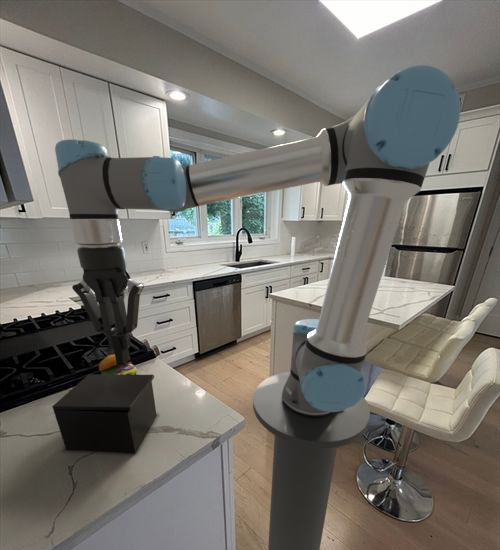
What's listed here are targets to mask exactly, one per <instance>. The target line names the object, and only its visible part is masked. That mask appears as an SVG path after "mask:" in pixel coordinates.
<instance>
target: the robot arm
mask: <svg viewBox="0 0 500 550" xmlns="http://www.w3.org/2000/svg"><path fill="white" fill-rule="evenodd" d="M460 118H461V100H460V95H459V91H458V90H457V89H456V88H455V85H454V83H453V80H452V79H451V77H450V75H448V74H447V73H446V72H445V71H443V70H442V69H440V68H437V67H435V66H432V65H427V64H419V65H412V66H409V67H406V68H404V69H402V70H399V71H397V72H396V73H394V74H393V75H392V76H390V78H388V79H386V80H385V81H384V82H382V83H381V84H380V85H379V86H378V87H377V88H376V89H375V90H374V91H373V93H372V94H371V96H370V97H369V100H367V101H366V102H365V104H363V106H362V107H361V108H360V109H359V110H358V111H357V113H355V114H354V115H353V116H351V117H350V118H349V119H347V120H344V121H343V122H342V123H341V122H340V123H339V124H336V125H334V126H331V127H330V126H329V127H325V128H322V129H321V130H320V132H319V133H318V134H317V136H315V137H309V138H305V139H301V140H297V141H293V142H288V143H287V142H286V143H283V144H279V145H275V146H270V147H265V148H261V149H255V150H252V151H247V152H243V153H238V154H233V155H229V156H224V157H220V158H215V159H211V160H206V161H203V162H198V163H193V164H190V165H185V166H182V164H181V163H180V161H179V160H178V159H176V158H174V157H163V156H159V155H153V156H145V157H139V156H138V157H137V156H136V157H110V156H109V152H108V150H107V148H106V147H105V146H104V145H102V144H101V143H98V142H96V141H91V140H84V139H83V140H81V139H80V140H79V139H62V140H59V141H58V142H56V144H55V147H54V153H55V157H56V164H57V168H58V170H57V173H58V177H59V179H60V182H61V187H62V189H63V194H64V197H65V202H66V205H67V210H68V213H69V215H68V217H69V221H70V226H71V230H72V234H73V240H74V244H76V245H78V246H79V247H77V249H76V252H77V256H78V260H79V261H78V262H79V265H80V268H81V269H82V270H83V273H82V280H81V281H80V282H77V283H76V284H73V285H72V287H71V288H72V290H73V291H74V293H75V294H76V295H77V296H78V297H79V298H80V301H81V303H82V305H83V307H84V309H85V311H86V313H87V315H88V317H89V320H90V322H91V324H92V326H93V327H94V330H95V331H96V332H97V333H103V334H105V335H106V337H107V341H108V347H109V348H110V350H113V354H115V358H116V363H117V365H124V364H125V363H126V362H129V360H130V359H131V357H130V354H129V348H130V347H131V345H132V343H131V338H130V337H131V336H130V333H132V332H133V331H135V330H136V329H137V328H138V323H139V322H138V321H139V311H140V300H141V299H140V298H141V294H142V292H143V290H144V286H145V285H144V283H142V282H139V283H138V282H136V281H135V280H133V279H131V275H130V274H129V272H128V270H127V259H126V254H125V249H124V247H123V246H122V245H121V243H123V236H122V232H121V225H120V220H119V219H120V218H119V212H118V210H154V211H167V212H171V213H180V212H181V213H182V212H184V211H186V210H187V209H192V208H197V207H201V206H205V205H210V204H215V203H220V202H225V201H231V200H235V199H241V198H245V197H249V196H256V195H260V194H264V193H265V194H266V193H270V192H275V191H281V190H284V189H285V190H286V189H290V188H296V187H300V186H304V185H310V184H314V183H320V184H321V185H322V186H323V187H328V186H333V185H340V184H342V185H343V187H344V188H345V190H346V192H347V194H348V199H347V202H346V203H347V204H346V208H345V211H344V216H343V220H342V225H341V229H340V232H339V237H338V241H337V245H336V249H335V253H334V257H333V261H332V266H331V269H330V274H329V277H328V278H329V279H328V282H327V286H326V289H325V293H324V298H323V301H322V306H321V311H320V314H319V318H306V319H300V320H298V321H296V322H295V323H294V325H293V330H292V344H291V345H292V346H291V357H290V358H291V359H290V370H289V372H290V375H289V377H288V379H287V381H286V383H285V386H284V388H283V391H282V401H283V404H284V405H285V406H286V407H287V408H288V409H289V410H290V411H292V412H293V413H295V414H298V415H300V416H304V417H308V418H323V417H327V416H330V415H332V414H333V413H335V412H338V411H343V410H345V409H346V408H349V407H352V406H354V405H355V404H357V403H358V402H359V401H360V400H361V398H362V397H364V394H365V392H366V381H365V379H366V378H365V376H364V375H363V373H362V368H363V365H364V362H365V359H366V356H367V353H368V347H367V345H366V344H365V342H364V341H363V338H364V337H363V336H364V333H365V330H366V328H367V324H368V321H369V318H370V314H371V311H372V308H373V305H374V302H375V299H376V295H377V293H378V289H379V286H380V284H381V280H382V278H383V274H384V271H385V267H386V264H387V261H388V258H389V255H390V252H391V249H392V245H393V242H394V239H395V235H396V232H397V229H398V227H399V225H400V220H401V217H402V214H403V210H404V207H405V205H406V203H407V201H408V200H410V199H411V198H412V197H414V196H415V195H417V194H418V193H420V192H421V190H422V188H423V184H424V181H425V178H426V175H427V171H428V169H429V166H430V164H431V163H432V162H433V161H434V160H436V159H437V158H438V157H440V155H441V154H442V153H443V152H445V150H446V149H447V148H448V146H449V145H450V144H451V142H452V140H453V138H454V137H455V135H456V132H457V129H458V127H459V124H460V123H459V122H460ZM126 289H127V292H128V296H127V305H126V304H125V297H126V296H125V291H126ZM126 306H127V307H126ZM129 357H130V358H129Z"/></svg>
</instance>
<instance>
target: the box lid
mask: <svg viewBox="0 0 500 550" xmlns="http://www.w3.org/2000/svg"><path fill="white" fill-rule="evenodd" d="M154 378H155V375H154V374H136V375H107V374H101V373H100V374H95V373H94V374H93V373H92V374H88V375H86V376H85V377H84V378H83V379H81V380H80V381H79V382H78V383H77V384H76V385H75V386H74V387H73V388H71V389H70V390H69V391H68V392H67V393H65V394H64V396H63V397H61V398H60V399H59V400H58V401H56V402H55V403H54V404H52V407H51V408H52V410H54V409H60V410H131V409H132V408H133V407H134V405H135V404H136V402H137V401H138V400H139V398H140V397H141V395H142V394H143V393H144V391H145V390H146V388H147V387H148V386H149V384H150V383H151V381H152V382H153V380H154Z"/></svg>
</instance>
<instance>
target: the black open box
mask: <svg viewBox="0 0 500 550" xmlns="http://www.w3.org/2000/svg"><path fill="white" fill-rule="evenodd" d="M153 387H154V386H153V380H152V381H151V383H150V384H149V386H148V387H147V388H146V390H145V391H144V393H143V394H142V395H141V397H140V398H139V400H138V401H137V402H136V404H135V405H134V407H133V408H132V409H131V410H126V411H123V410H60V409H53V413H54V416H55V420H56V422H57V426H58V429H59V432H60V434H61V438H62V441H63V444H64V448H65V450H66V451H80V452H81V451H83V452H97V453H98V452H101V453H116V454H117V453H119V454H136V453H137V451H138V450H139V448H140V446H141V444H142V443H143V441H144V439H145V438H146V435H147V434H148V432H149V430H150V428H151V427H152V425H153V423H154V421H155V420H156V417H157V416H158V414H157V407H156V402H155V401H156V400H155V395H154V388H153Z"/></svg>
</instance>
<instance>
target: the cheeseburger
mask: <svg viewBox="0 0 500 550" xmlns="http://www.w3.org/2000/svg"><path fill="white" fill-rule="evenodd" d="M129 358H130V359H131V357H130V356H129ZM98 371H99V372H100V374H107V375H137V373H138V369H137V367H136V366H135V365H134V364H132V361H127V362H126V363H125V364H124V365H117V363H116V358H115V354H114V353H113V354H110V355H107V356H105V357H104V358H102V360H101V361H100V362H99V363H98Z"/></svg>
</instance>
